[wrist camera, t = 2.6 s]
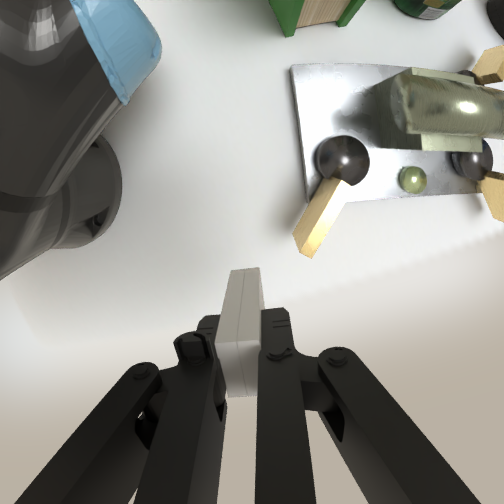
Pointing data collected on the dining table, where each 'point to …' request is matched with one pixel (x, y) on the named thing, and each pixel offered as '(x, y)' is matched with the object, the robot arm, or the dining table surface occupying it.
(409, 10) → the coffee jar
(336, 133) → the base
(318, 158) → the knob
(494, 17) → the black smart speaker
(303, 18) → the hardback book
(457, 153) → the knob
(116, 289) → the dining table surface
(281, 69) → the dining table surface
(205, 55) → the dining table surface
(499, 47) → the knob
